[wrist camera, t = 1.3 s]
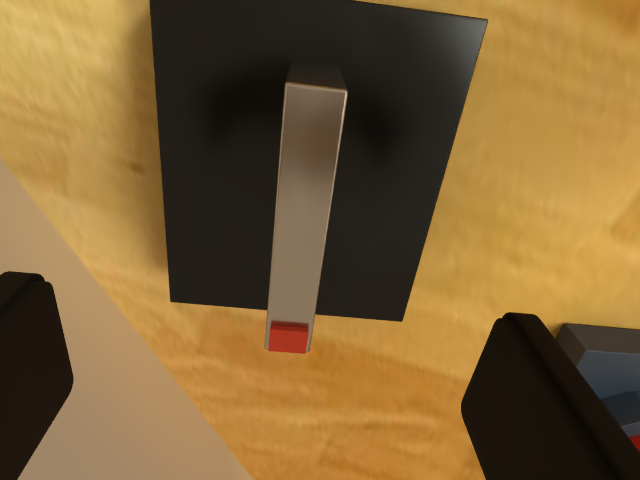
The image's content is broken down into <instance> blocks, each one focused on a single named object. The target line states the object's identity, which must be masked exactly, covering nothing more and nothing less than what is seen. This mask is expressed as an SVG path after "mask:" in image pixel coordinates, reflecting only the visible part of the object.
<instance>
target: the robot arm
mask: <svg viewBox="0 0 640 480" xmlns="http://www.w3.org/2000/svg"><path fill="white" fill-rule="evenodd" d="M72 385H73V373H72V368H71V364H70V360H69V355H68V351H67V347H66V342H65V338H64V333H63V329H62V325H61V320H60V316H59V312H58V308H57V303H56V298H55V294H54V290H53V287H52V285H51V283H49V282H45V280H44V278H43V277H42V276H41V275H40V274H35V273H22V272H11V271H10V272H5V273H3V274H1V275H0V480H17V479H18V477H19V476H20V474H21V472H22V471H23V469H24V468H25V466H26V464H27V463H28V461H29V459H30V458H31V456H32V455H33V453H34V451H35V450H36V448H37V446H38V445H39V443H40V442H41V440H42V438H43V436H44V435H45V433H46V432H47V430H48V428H49V427H50V425H51V424H52V422H53V420H54V419H55V417H56V415H57V414H58V412H59V410H60V409H61V407H62V406H63V404H64V402H65V401H66V399H67V397H68V396H69V394H70V392H71V389H72ZM461 413H462V417H463V420H464V423H465V426H466V428H467V431H468V433H469V436H470V439H471V441H472V444H473V447H474V449H475V452H476V454H477V457H478V460H479V462H480V465H481V468H482V470H483V473H484V476H485V478H486V480H640V452H639V451H638V449H637V448H636V447H635V445H634V444H633V443H632V441H631V440H630V439H629V437H628V436H627V435H626V433H625V432H624V431H623V429H622V428H621V427H620V425H619V424H618V423H617V421H616V420H615V419H614V417H613V416H612V415H611V413H610V412H609V411H608V409H607V408H606V407H605V405H604V404H603V403H602V401H601V400H600V399H599V397H598V396H597V395H596V393H595V392H594V391H593V389H592V388H591V387H590V385H589V384H588V383H587V381H586V380H585V379H584V377H583V376H582V375H581V373H580V372H579V371H578V369H577V368H576V367H575V365H574V364H573V363H572V361H571V360H570V359H569V357H568V356H567V355H566V353H565V352H564V351H563V349H562V348H561V347H560V345H559V344H558V343H557V341H556V340H555V338H554V337H553V336H552V334H551V333H550V332H549V330H548V329H547V328H546V326H545V325H544V324H543V322H542V321H541V320H540V319H539V318H538V317H537V316H536V315H534V314H524V313H512V312H509V313H506V314H505V315H504V316H503V317H502V318H499V319H497V320H496V321H495V323H494V325H493V328H492V330H491V332H490V335H489V337H488V340H487V342H486V344H485V347H484V349H483V352H482V354H481V356H480V359H479V361H478V364H477V366H476V368H475V371H474V373H473V376H472V378H471V380H470V383H469V385H468V387H467V390H466V392H465V395H464V397H463V399H462V403H461Z"/></svg>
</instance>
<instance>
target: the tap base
mask: <svg viewBox="0 0 640 480" xmlns="http://www.w3.org/2000/svg"><path fill="white" fill-rule="evenodd" d="M150 15H151V29H152V44H153V58H154V72H155V87H156V101H157V116H158V130H159V145H160V159H161V173H162V188H163V202H164V217H165V231H166V246H167V260H168V274H169V289H170V301H171V302H178V303H190V304H201V305H213V306H225V307H236V308H248V309H260V310H267V309H268V296H269V283H270V270H271V257H272V244H273V231H274V218H275V205H276V191H277V178H278V165H279V152H280V139H281V126H282V113H283V100H284V87H285V83H286V80H287V77H288V74H289V71H290V68H291V65H292V62H293V61H300V62H308V63H316V64H323V65H331V66H337V67H338V68H339V70H340V73H341V75H342V78H343V81H344V83H345V86H346V88H347V91H348V97H347V104H346V110H345V117H344V124H343V130H342V137H341V144H340V150H339V157H338V164H337V171H336V177H335V184H334V191H333V197H332V204H331V211H330V217H329V224H328V231H327V238H326V244H325V251H324V258H323V264H322V271H321V278H320V284H319V291H318V298H317V304H316V311H315V314H318V315H329V316H341V317H353V318H364V319H376V320H388V321H399V322H402V321H403V317H404V314H405V310H406V307H407V303H408V300H409V296H410V293H411V289H412V286H413V282H414V279H415V275H416V272H417V268H418V265H419V261H420V258H421V254H422V251H423V247H424V244H425V240H426V237H427V233H428V230H429V226H430V223H431V219H432V216H433V212H434V209H435V205H436V202H437V198H438V195H439V191H440V188H441V184H442V181H443V177H444V174H445V170H446V167H447V163H448V160H449V156H450V153H451V149H452V146H453V142H454V139H455V135H456V132H457V128H458V125H459V121H460V118H461V114H462V111H463V107H464V104H465V100H466V96H467V93H468V89H469V86H470V82H471V79H472V75H473V72H474V68H475V65H476V61H477V58H478V54H479V51H480V47H481V44H482V40H483V37H484V33H485V30H486V26H487V23H488V20H487V19H482V18H475V17H468V16H461V15H454V14H447V13H440V12H433V11H426V10H419V9H412V8H405V7H398V6H391V5H384V4H377V3H370V2H362V1H355V0H150Z"/></svg>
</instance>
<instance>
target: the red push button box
mask: <svg viewBox="0 0 640 480" xmlns="http://www.w3.org/2000/svg"><path fill="white" fill-rule="evenodd" d="M556 341H557V343H558V344H559V345H560V347H561V348H562V349H563V351H564V352H565V353H566V355H567V356H568V357H569V359H570V360H571V361H572V363H573V364H574V365H575V367H576V368H577V369H578V371H579V372H580V373H581V375H582V376H583V377H584V379H585V380H586V381H587V383H588V384H589V385H590V387H591V388H592V389H593V391H594V392H595V393H596V395H597V396H598V397H599V399H600V400H601V401H602V403H603V404H604V405H605V407H606V408H607V409H608V411H609V412H610V413H611V415H612V416H613V417H614V419H615V420H616V421H617V423H618V424H619V425H620V427H621V428H622V429H623V431H624V432H625V433H626V435H627V436H628V437H632V436H637V435H640V330H634V329H623V328H612V327H600V326H589V325H578V324H566V323H565V324H564V325H563V327H562V329H561V331H560V333H559V335H558V337H557V339H556Z"/></svg>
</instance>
